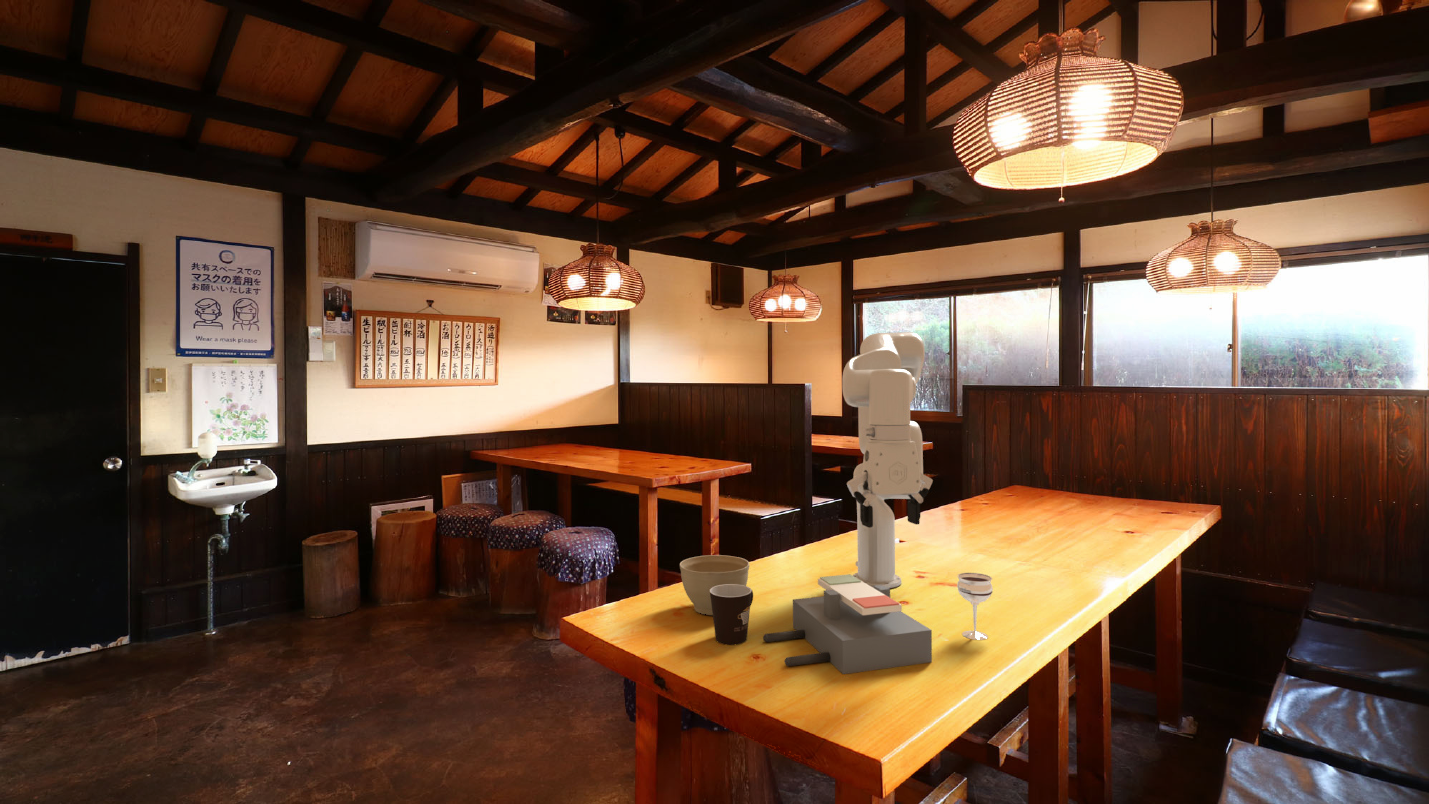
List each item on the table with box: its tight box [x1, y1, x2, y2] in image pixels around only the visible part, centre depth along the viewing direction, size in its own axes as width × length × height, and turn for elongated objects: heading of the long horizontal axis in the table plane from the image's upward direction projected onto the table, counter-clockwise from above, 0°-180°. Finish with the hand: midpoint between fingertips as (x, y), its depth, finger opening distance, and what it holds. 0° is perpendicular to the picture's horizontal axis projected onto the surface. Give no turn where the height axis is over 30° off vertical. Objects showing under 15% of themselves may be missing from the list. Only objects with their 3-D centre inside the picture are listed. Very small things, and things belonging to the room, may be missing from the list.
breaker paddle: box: [817, 573, 903, 615], centre depth 130 cm, size 20×8×2 cm, turn 15°
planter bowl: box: [679, 554, 750, 616], centre depth 152 cm, size 16×16×11 cm
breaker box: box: [762, 585, 933, 675], centre depth 129 cm, size 24×27×11 cm
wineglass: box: [956, 572, 993, 641], centre depth 134 cm, size 7×7×12 cm
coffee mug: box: [710, 584, 754, 646], centre depth 134 cm, size 12×9×10 cm
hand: (890, 524), depth 124 cm, fingers open, 9 cm apart
